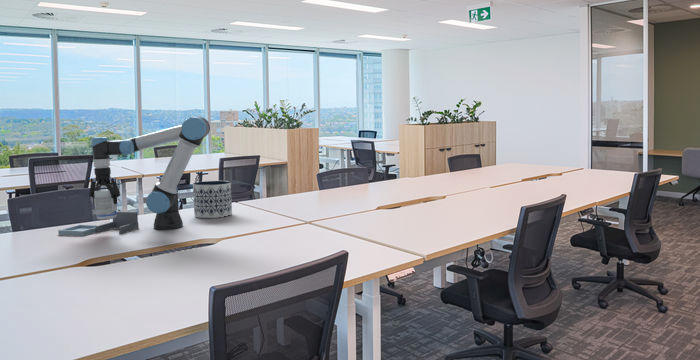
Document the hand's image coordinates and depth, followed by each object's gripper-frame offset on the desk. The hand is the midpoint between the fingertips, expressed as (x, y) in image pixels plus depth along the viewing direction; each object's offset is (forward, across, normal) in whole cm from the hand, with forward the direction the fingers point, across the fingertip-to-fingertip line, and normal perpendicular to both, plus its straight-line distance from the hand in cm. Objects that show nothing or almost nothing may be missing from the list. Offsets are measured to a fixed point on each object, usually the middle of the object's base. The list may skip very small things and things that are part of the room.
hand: (106, 210), depth 275 cm
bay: (+12, +1, -8) cm, 15 cm away
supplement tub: (+4, 0, 0) cm, 4 cm away
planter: (+14, -28, -59) cm, 67 cm away
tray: (+12, +17, 0) cm, 21 cm away
